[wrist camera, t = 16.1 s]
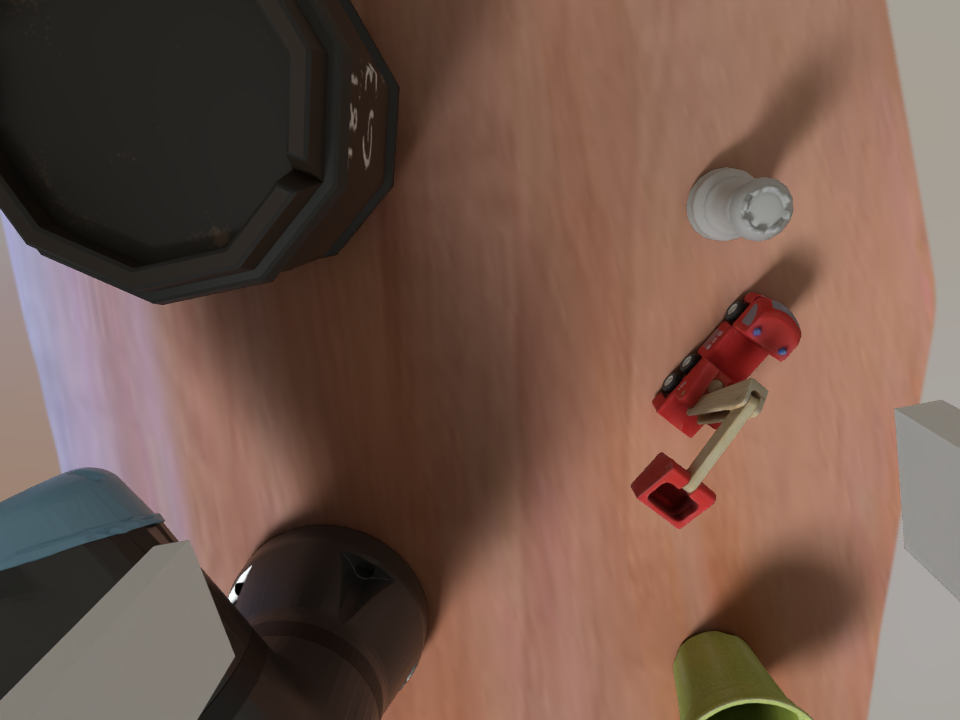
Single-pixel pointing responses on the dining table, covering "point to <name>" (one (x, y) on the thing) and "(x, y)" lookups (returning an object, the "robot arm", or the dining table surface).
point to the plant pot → (727, 682)
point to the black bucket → (191, 137)
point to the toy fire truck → (715, 401)
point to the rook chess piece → (738, 206)
